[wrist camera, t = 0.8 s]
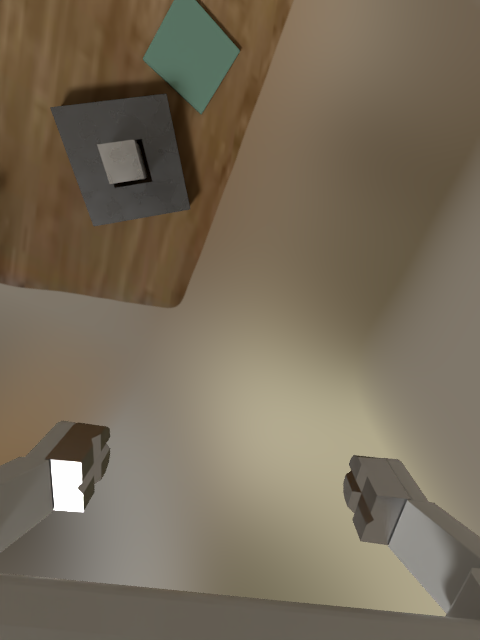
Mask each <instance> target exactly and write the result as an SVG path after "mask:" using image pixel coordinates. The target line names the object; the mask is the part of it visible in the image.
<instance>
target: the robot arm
mask: <svg viewBox="0 0 480 640" xmlns="http://www.w3.org/2000/svg"><path fill="white" fill-rule="evenodd" d="M109 438H110V429H109V428H108V427H106V426H99V425H92V424H85V423H75V422H68V421H61V422H58V423H57V424H56V425H55V426H54V427H53V428H52V429H51V430H50V431H49V432H48V433H47V434H46V436H45V437H44V438H43V439H42V440H41V441H40V442H39V443H38V444H37V445H36V446H35V447H34V448H33V449H32V450H31V451H30V453H28V455H27V456H26V457H18V458H16V459H14V460H12V461H10V462H8V463H5V464H3V465H1V466H0V552H2V551H3V550H4V549H6V548H7V547H8V546H9V545H11V544H12V543H13V542H15V541H16V540H17V539H19V538H20V537H21V536H22V535H24V534H25V533H26V532H28V531H29V530H30V529H31V528H32V527H34V526H35V525H37V524H38V523H39V522H40V521H42V520H43V519H44V518H45V517H47V516H48V515H49V514H51V513H52V512H53V510H66V511H79V512H83V511H84V510H85V508H86V506H87V504H88V503H89V500H90V499H91V497H92V495H93V494H94V484H95V483H97V482H98V481H100V480H101V479H102V477H103V476H104V474H105V472H106V469H107V466H108V463H109V457H110V448H109V446H108V445H107V444H106V442H107V441H108V440H109ZM349 466H350V468H351V471H350V472H349V473H347V474H346V476H345V479H344V497H345V501H346V504H347V506H348V507H349V508H350V509H351V510H352V511H353V512H354V513H355V514H354V517H353V523H354V525H355V528H356V530H357V533H358V536H359V538H360V541H363V542H370V543H378V544H384V545H389V546H388V547H389V548H390V549H391V550H392V551H393V553H394V554H395V555H396V556H397V557H398V558H399V560H400V561H401V562H402V563H403V564H404V565H405V567H406V568H407V569H408V570H409V571H410V572H411V573H412V575H413V576H414V577H415V578H416V579H417V580H418V581H419V583H420V584H421V585H422V586H423V587H424V588H425V590H426V591H427V592H428V593H429V594H430V595H431V596H432V598H433V599H434V600H435V601H436V602H437V603H438V604H439V606H440V607H441V608H442V609H443V610H444V611H445V613H446V616H445V617H443V616H433V615H423V614H413V613H402V612H392V611H381V610H372V609H361V608H351V607H340V606H330V605H320V604H309V603H299V602H288V601H277V600H268V599H258V598H247V597H238V596H228V595H218V594H206V593H197V592H187V591H177V590H167V589H157V588H147V587H137V586H126V585H116V584H106V583H96V582H86V581H76V580H65V579H55V578H45V577H35V576H24V575H14V574H4V573H0V640H480V537H479V536H478V535H476V534H475V533H474V532H472V531H471V530H470V529H468V528H467V527H466V526H464V525H463V524H461V523H460V522H459V521H457V520H456V519H455V518H453V517H452V516H451V515H449V514H448V513H447V512H446V511H444V510H443V509H442V508H440V507H439V506H438V505H436V504H435V503H432V502H428V500H427V498H426V497H425V496H424V494H423V493H422V491H421V490H420V488H419V487H418V485H417V484H416V482H415V481H414V480H413V478H412V476H411V475H410V473H409V472H408V471H407V469H406V468H405V466H404V465H403V463H402V462H401V461H399V460H398V459H388V458H375V457H366V456H356V455H353V457H352V458H351V460H350V463H349Z"/></svg>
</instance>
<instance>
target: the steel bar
mask: <svg viewBox="0 0 480 640" xmlns="http://www.w3.org/2000/svg"><path fill="white" fill-rule="evenodd" d="M97 146H98V149H99V152H100V155H101V159H102V162H103V165H104V168H105V171H106V174H107V177H108V180H109V184H114V183H120V182H127V181H133V180H139V179H145V178H148V176H147V172H146V168H145V164H144V160H143V156H142V152H141V149H140V146H139V145H138V144H137V142H136V141H135V140H126V141H119V142H112V143H105V144H98V145H97Z"/></svg>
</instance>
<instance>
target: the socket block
mask: <svg viewBox="0 0 480 640" xmlns="http://www.w3.org/2000/svg"><path fill="white" fill-rule="evenodd" d="M50 108H51V111H52V114H53V116H54V119H55V122H56V125H57V127H58V130H59V133H60V136H61V138H62V141H63V144H64V147H65V149H66V152H67V155H68V157H69V160H70V163H71V166H72V168H73V171H74V174H75V177H76V179H77V182H78V185H79V187H80V190H81V193H82V196H83V198H84V201H85V204H86V207H87V209H88V212H89V215H90V217H91V220H92V223H93V226H98V225H104V224H109V223H115V222H121V221H126V220H132V219H138V218H143V217H149V216H155V215H160V214H166V213H172V212H177V211H183V210H189V209H190V205H189V201H188V196H187V191H186V186H185V181H184V177H183V172H182V167H181V162H180V157H179V152H178V148H177V143H176V138H175V133H174V128H173V123H172V119H171V114H170V109H169V104H168V99H167V94H159V95H151V96H142V97H134V98H125V99H117V100H109V101H100V102H92V103H84V104H75V105H67V106H58V107H50ZM126 140H135V141H136V142H139V141H142V142H143V146H144V150H145V154H146V158H147V162H148V166H149V170H150V174H151V178H152V182H146V183H139V184H133V185H127V186H121V187H118V186H117V183H114V184H109V180H108V177H107V174H106V171H105V168H104V165H103V162H102V159H101V155H100V152H99V149H98V146H97V145H98V144H105V143H112V142H119V141H126Z"/></svg>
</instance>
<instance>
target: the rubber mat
mask: <svg viewBox="0 0 480 640" xmlns="http://www.w3.org/2000/svg"><path fill="white" fill-rule="evenodd" d="M239 52H240V50H239V49H238V48H237V47H236V46H235V44H234V43H233V42H232V41H231V40H230V39H229V38H228V37H227V35H226V34H225V33H224V32H223V31H222V30H221V29H220V27H219V26H218V25H217V24H216V23H215V22H214V21H213V19H212V18H211V17H210V16H209V15H208V14H207V13H206V12H205V10H204V9H203V8H202V7H201V6H200V5H199V4H198V2H197V1H196V0H174V1H173V3H172V5H171V7H170V9H169V11H168V13H167V15H166V16H165V18H164V20H163V22H162V24H161V26H160V28H159V29H158V31H157V33H156V35H155V37H154V39H153V41H152V43H151V44H150V46H149V48H148V50H147V52H146V54H145V56H144V57H143V60H144V61H145V62H146V63H147V64H148V65H149V66H150V67H151V68H152V69H153V70H154V71H155V72H156V73H157V74H159V75H160V76H161V77H162V78H163V79H164V80H165V81H166V82H167V83H168V84H169V85H170V86H171V87H172V88H173V89H175V90H176V91H177V92H178V93H179V94H180V95H181V96H182V97H183V98H184V99H185V100H186V101H187V102H188V103H189V104H190V105H192V106H193V107H194V108H195V109H196V110H197V111H198V112H199V113H200V114H202V112H203V111H204V109H205V107H206V106H207V104H208V103H209V101H210V99H211V98H212V96H213V94H214V93H215V91H216V89H217V88H218V86H219V85H220V83H221V81H222V80H223V78H224V76H225V75H226V73H227V71H228V70H229V68H230V67H231V65H232V63H233V62H234V60H235V58H236V57H237V55H238V53H239Z"/></svg>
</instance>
